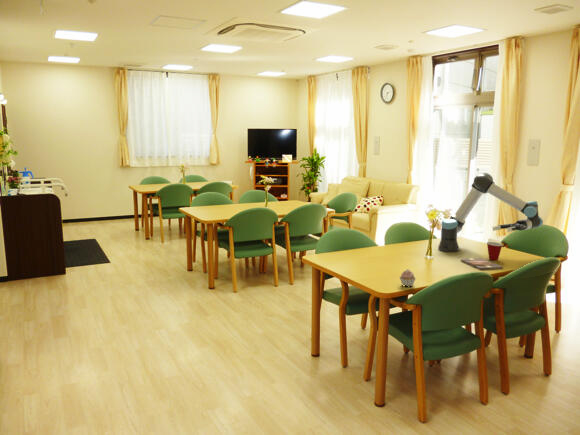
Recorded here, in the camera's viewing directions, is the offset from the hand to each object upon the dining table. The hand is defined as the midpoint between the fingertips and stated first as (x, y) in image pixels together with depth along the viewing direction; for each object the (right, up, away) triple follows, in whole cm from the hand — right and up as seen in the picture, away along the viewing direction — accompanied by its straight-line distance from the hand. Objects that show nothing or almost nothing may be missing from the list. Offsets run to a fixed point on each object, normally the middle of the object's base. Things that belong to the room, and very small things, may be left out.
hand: (500, 229), depth 326 cm
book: (-19, -24, -14) cm, 34 cm away
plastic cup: (-5, -22, 0) cm, 22 cm away
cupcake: (-81, -32, -57) cm, 104 cm away
